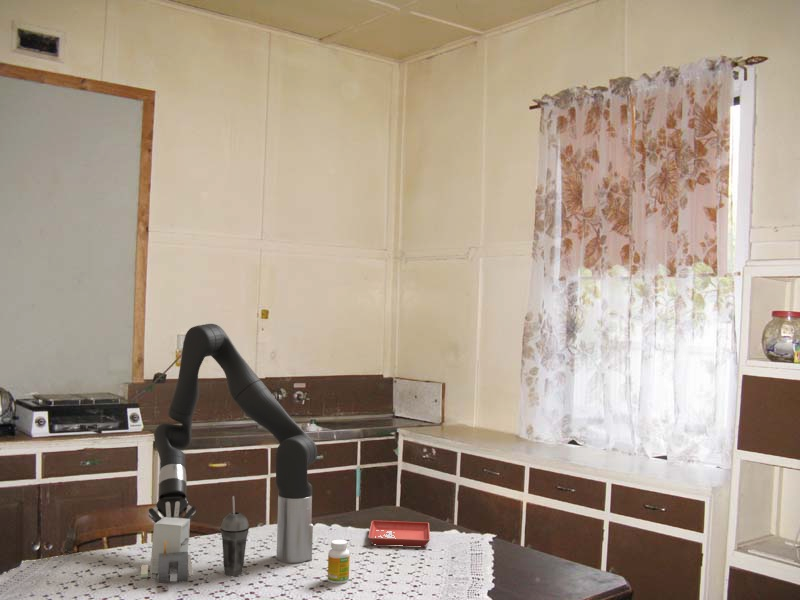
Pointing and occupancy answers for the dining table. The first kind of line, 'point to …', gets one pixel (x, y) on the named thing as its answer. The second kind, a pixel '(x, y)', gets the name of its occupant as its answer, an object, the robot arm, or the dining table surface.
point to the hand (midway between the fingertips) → (172, 540)
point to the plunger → (172, 567)
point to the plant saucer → (400, 533)
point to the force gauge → (163, 567)
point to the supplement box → (169, 538)
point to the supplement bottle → (338, 562)
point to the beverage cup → (234, 542)
